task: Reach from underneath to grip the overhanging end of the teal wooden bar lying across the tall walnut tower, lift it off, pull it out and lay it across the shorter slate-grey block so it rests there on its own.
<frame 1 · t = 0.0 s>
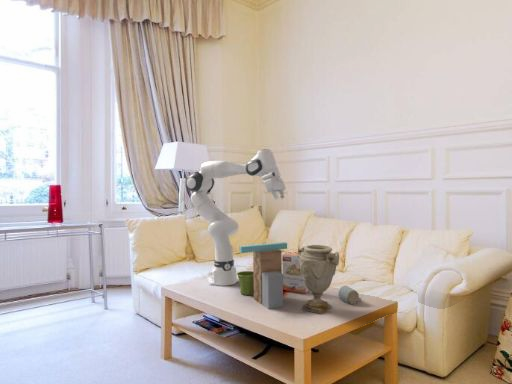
hand: (279, 198, 209), 52 cm above the table, tool tilted 20°, fingers open, 8 cm apart
cracker box: (295, 291, 206), on the table
grey block: (272, 305, 182), on the table
teal bar: (263, 250, 190), point 26 cm above the table, touching walnut tower
plant pot: (247, 293, 203), on the table
ceramic mug: (350, 302, 186), on the table
urn: (318, 309, 176), on the table
walnut tower: (267, 299, 191), on the table
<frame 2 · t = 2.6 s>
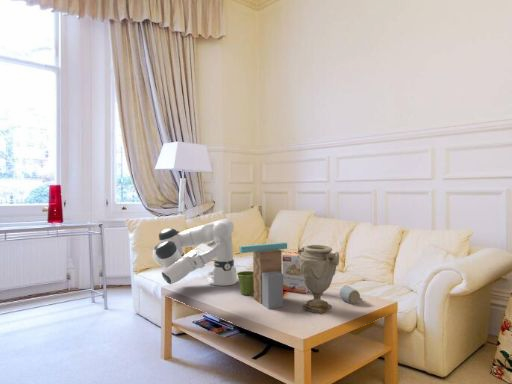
hand: (217, 243, 181), 31 cm above the table, tool pointing upward, fingers open, 8 cm apart
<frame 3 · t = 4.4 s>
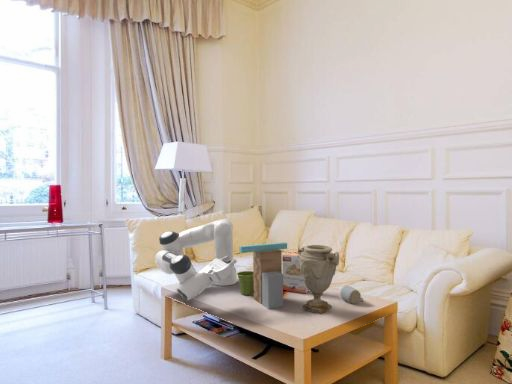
hand: (232, 258, 182), 24 cm above the table, tool pointing upward, fingers open, 8 cm apart
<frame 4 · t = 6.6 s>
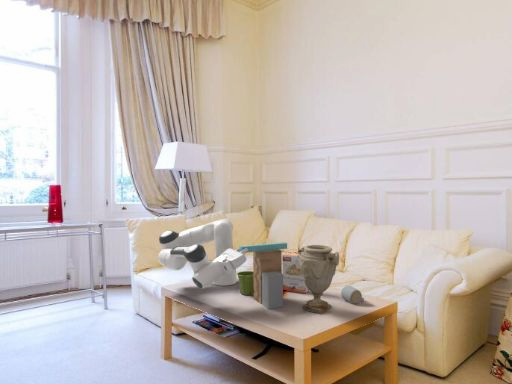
hand: (245, 248, 186), 28 cm above the table, tool pointing upward, fingers closed on teal bar, 3 cm apart
teal bar: (263, 250, 190), point 26 cm above the table, touching gripper, walnut tower
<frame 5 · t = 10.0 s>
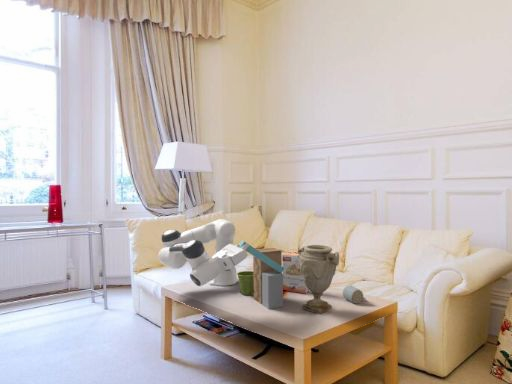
hand: (246, 243, 175), 32 cm above the table, tool pointing upward, fingers closed on teal bar, 3 cm apart
teal bar: (260, 259, 178), point 23 cm above the table, tilted 35°, touching gripper
when the fingers open (19 cm above the table, at t = 13.1 s): teal bar stays where it is, resting on grey block.
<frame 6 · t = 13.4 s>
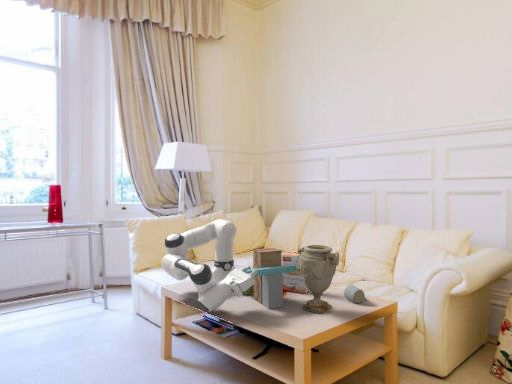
hand: (253, 268, 177), 19 cm above the table, tool pointing upward, fingers open, 6 cm apart
teal bar: (271, 273, 181), point 16 cm above the table, touching grey block
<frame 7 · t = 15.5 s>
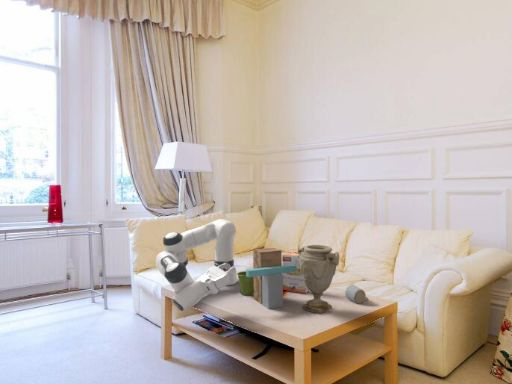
hand: (230, 265, 173), 22 cm above the table, tool pointing upward, fingers open, 8 cm apart
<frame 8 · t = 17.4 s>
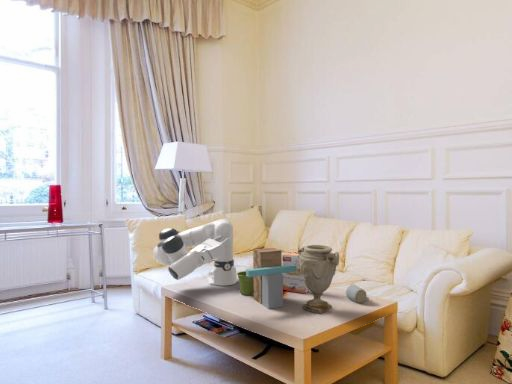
hand: (225, 238, 177), 34 cm above the table, tool pointing upward, fingers open, 8 cm apart
at the end: teal bar inside the target area (0.4 cm from its centre), point 16.0 cm above the table; the gripper is holding nothing; teal bar touching grey block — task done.
